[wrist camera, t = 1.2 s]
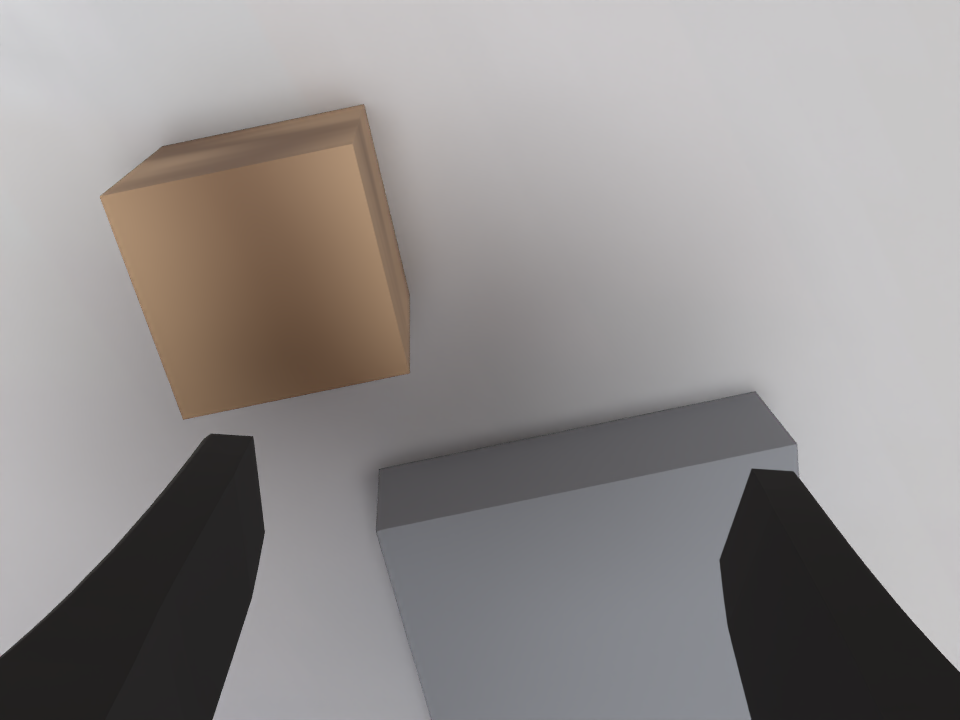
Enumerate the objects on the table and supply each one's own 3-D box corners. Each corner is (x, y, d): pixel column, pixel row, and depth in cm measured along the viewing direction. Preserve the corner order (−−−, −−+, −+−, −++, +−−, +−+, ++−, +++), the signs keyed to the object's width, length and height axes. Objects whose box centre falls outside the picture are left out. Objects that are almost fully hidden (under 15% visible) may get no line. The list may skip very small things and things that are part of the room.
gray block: (455, 733, 31) (461, 822, 28) (379, 461, 27) (375, 531, 23) (772, 669, 31) (814, 751, 28) (750, 384, 26) (797, 443, 23)
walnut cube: (225, 331, 24) (183, 419, 20) (162, 145, 22) (99, 196, 18) (409, 293, 24) (409, 373, 20) (364, 103, 22) (352, 143, 18)
